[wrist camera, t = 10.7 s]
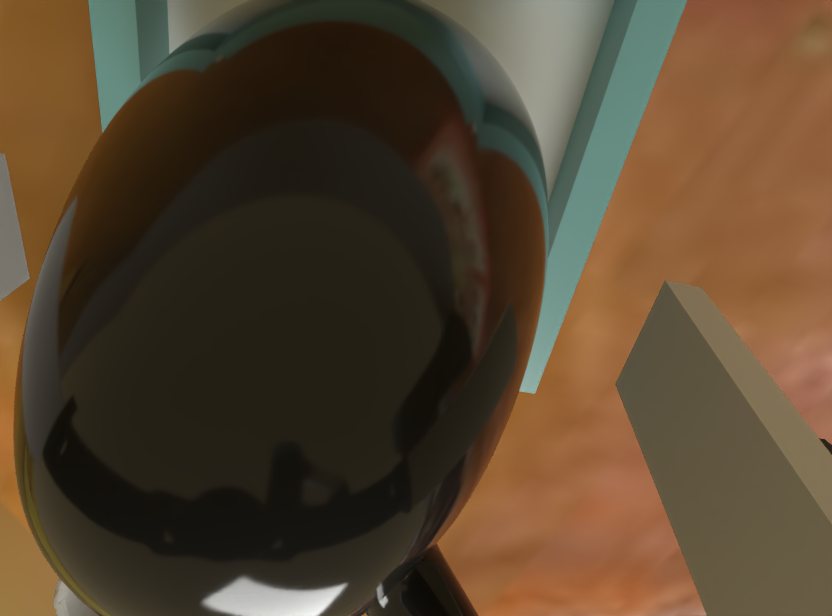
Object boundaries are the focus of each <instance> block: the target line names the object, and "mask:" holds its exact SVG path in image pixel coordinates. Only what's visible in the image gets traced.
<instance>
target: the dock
mask: <svg viewBox="0 0 832 616" xmlns="http://www.w3.org/2000/svg"><path fill="white" fill-rule="evenodd" d="M247 1H249V0H88V2H89V12H90V21H91V31H92V40H93V49H94V59H95V68H96V77H97V87H98V96H99V106H100V115H101V124H102V133H103V132H104V130H105V129H106V127H107V126H108V124H109V123H110V121H111V120H112V118H113V117H114V115H115V114H116V113H117V111H118V110H119V109H120V107H121V106H122V105H123V103H124V102H125V101H126V100H127V98H128V97H129V96H130V95H131V94H132V92H133V91H134V90H135V89H136V88H137V87H138V85H139V84H140V83H141V82H142V81H143V80H144V79H145V78H146V77H147V76H148V75H149V74H150V73H151V72H152V71H153V70H154V69H155V68H156V67H157V66H158V65H159V64H160V63H161V62H162V61H163V60H164V59H165V58H166V57H167V56H168V55H169V54H171V53H172V52H173V51H174V50H175V49H176V48H177V47H179V46H180V45H181V44H182V43H184V42H185V41H186V40H187V39H189V38H190V37H191V36H192V35H193V34H195V33H196V32H197V31H199V30H200V29H201V28H203V27H204V26H205V25H207V24H208V23H210V22H211V21H212V20H214V19H216V18H217V17H219V16H220V15H222V14H224V13H225V12H227V11H229V10H231V9H233V8H234V7H236V6H238V5H240V4H242V3H244V2H247ZM419 1H422V2H424V3H426V4H428V5H430V6H432V7H434V8H435V9H437V10H439V11H441V12H442V13H444V14H446V15H447V16H449V17H450V18H452V19H453V20H455V21H456V22H457V23H459V24H460V25H461V26H463V27H464V28H465V29H466V30H468V31H469V32H470V33H471V34H472V35H473V36H475V37H476V38H477V39H478V40H479V41H480V42H481V43H482V44H483V45H484V46H485V47H486V48H487V49H488V50H489V51H490V53H491V54H492V55H493V56H494V57H495V58H496V60H497V61H498V62H499V63H500V64H501V66H502V67H503V69H504V70H505V71H506V73H507V74H508V76H509V77H510V79H511V80H512V82H513V83H514V85H515V87H516V88H517V90H518V92H519V94H520V96H521V98H522V100H523V102H524V103H525V106H526V108H527V110H528V112H529V115H530V117H531V120H532V122H533V125H534V128H535V131H536V134H537V137H538V140H539V144H540V148H541V152H542V156H543V161H544V167H545V173H546V181H547V192H548V211H549V248H548V265H547V274H546V283H545V290H544V296H543V302H542V308H541V313H540V318H539V322H538V327H537V331H536V336H535V340H534V344H533V347H532V351H531V355H530V358H529V362H528V365H527V369H526V372H525V375H524V378H523V381H522V384H521V387H520V390H519V391H522V392H528V393H533V394H535V392H536V390H537V387H538V384H539V382H540V379H541V377H542V374H543V371H544V369H545V366H546V364H547V361H548V358H549V356H550V353H551V351H552V348H553V346H554V343H555V340H556V338H557V335H558V333H559V330H560V327H561V325H562V322H563V320H564V317H565V315H566V312H567V309H568V307H569V304H570V302H571V299H572V296H573V294H574V291H575V289H576V286H577V284H578V281H579V278H580V276H581V273H582V271H583V268H584V265H585V263H586V260H587V258H588V255H589V253H590V250H591V247H592V245H593V242H594V240H595V237H596V234H597V232H598V229H599V227H600V224H601V222H602V219H603V216H604V214H605V211H606V209H607V206H608V203H609V201H610V198H611V196H612V193H613V190H614V188H615V185H616V183H617V180H618V178H619V175H620V172H621V170H622V167H623V165H624V162H625V159H626V157H627V154H628V152H629V149H630V147H631V144H632V141H633V139H634V136H635V134H636V131H637V128H638V126H639V123H640V121H641V118H642V116H643V113H644V110H645V108H646V105H647V103H648V100H649V97H650V95H651V92H652V90H653V87H654V85H655V82H656V79H657V77H658V74H659V72H660V69H661V66H662V64H663V61H664V59H665V56H666V53H667V51H668V48H669V46H670V43H671V41H672V38H673V35H674V33H675V30H676V28H677V25H678V22H679V20H680V17H681V15H682V12H683V10H684V7H685V4H686V2H687V0H419Z"/></svg>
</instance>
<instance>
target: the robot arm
mask: <svg viewBox="0 0 832 616" xmlns="http://www.w3.org/2000/svg"><path fill="white" fill-rule="evenodd" d="M29 279H30V277H29V272H28V267H27V262H26V257H25V252H24V247H23V242H22V237H21V232H20V227H19V222H18V217H17V212H16V207H15V202H14V197H13V192H12V187H11V182H10V177H9V172H8V167H7V162H6V157H5V154H3V153H0V301H1V300H2V299H3V298H5V297H6V296H7V295H9V294H10V293H11V292H13V291H14V290H15V289H17V288H18V287H19V286H21V285H22V284H23V283H25V282H26V281H27V280H29ZM616 387H617V390H618V392H619V395H620V397H621V400H622V402H623V405H624V407H625V410H626V412H627V415H628V417H629V420H630V422H631V425H632V427H633V430H634V432H635V435H636V437H637V440H638V442H639V445H640V447H641V450H642V453H643V455H644V458H645V460H646V463H647V465H648V468H649V470H650V473H651V475H652V478H653V480H654V483H655V485H656V488H657V490H658V493H659V495H660V498H661V500H662V503H663V505H664V508H665V511H666V513H667V516H668V518H669V521H670V523H671V526H672V528H673V531H674V533H675V536H676V538H677V541H678V543H679V546H680V548H681V551H682V553H683V556H684V558H685V561H686V563H687V566H688V568H689V571H690V574H691V576H692V579H693V581H694V584H695V586H696V589H697V591H698V594H699V596H700V599H701V601H702V604H703V606H704V609H705V611H706V614H707V616H832V445H831V444H830V443H828V442H827V441H826V440H825V439H820V438H818V437H817V435H816V434H815V433H814V432H813V430H812V429H811V428H810V426H809V425H808V424H807V423H806V421H805V420H804V419H803V417H802V416H801V415H800V414H799V412H798V411H797V410H796V408H795V407H794V406H793V405H792V403H791V402H790V401H789V399H788V398H787V397H786V396H785V394H784V393H783V392H782V390H781V389H780V388H779V387H778V385H777V384H776V383H775V382H774V380H773V379H772V378H771V376H770V375H769V374H768V373H767V371H766V370H765V369H764V367H763V366H762V365H761V364H760V362H759V361H758V360H757V358H756V357H755V356H754V355H753V353H752V352H751V351H750V349H749V348H748V347H747V346H746V344H745V343H744V342H743V340H742V339H741V338H740V337H739V335H738V334H737V333H736V331H735V330H734V329H733V328H732V326H731V325H730V324H729V322H728V321H727V320H726V319H725V317H724V316H723V315H722V314H721V312H720V311H719V310H718V308H717V307H716V306H715V305H714V303H713V302H712V301H711V299H710V298H709V297H708V296H707V294H706V293H705V292H704V290H703V289H702V288H701V287H697V286H691V285H686V284H681V283H676V282H671V281H665V282H664V284H663V286H662V288H661V290H660V292H659V294H658V296H657V298H656V301H655V303H654V305H653V307H652V309H651V311H650V313H649V315H648V317H647V319H646V321H645V324H644V326H643V328H642V330H641V332H640V334H639V336H638V338H637V340H636V342H635V344H634V347H633V349H632V351H631V353H630V355H629V357H628V359H627V361H626V363H625V365H624V367H623V370H622V372H621V374H620V376H619V378H618V380H617V382H616Z"/></svg>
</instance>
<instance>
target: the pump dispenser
mask: <svg viewBox="0 0 832 616" xmlns="http://www.w3.org/2000/svg"><path fill="white" fill-rule="evenodd" d="M548 248H549V211H548V192H547V181H546V173H545V167H544V161H543V156H542V152H541V148H540V144H539V140H538V137H537V134H536V131H535V128H534V125H533V122H532V120H531V117H530V115H529V112H528V110H527V108H526V106H525V103H524V102H523V100H522V98H521V96H520V94H519V92H518V90H517V88H516V87H515V85H514V83H513V82H512V80H511V79H510V77H509V76H508V74H507V73H506V71H505V70H504V69H503V67H502V66H501V64H500V63H499V62H498V61H497V60H496V58H495V57H494V56H493V55H492V54H491V53H490V51H489V50H488V49H487V48H486V47H485V46H484V45H483V44H482V43H481V42H480V41H479V40H478V39H477V38H476V37H475V36H473V35H472V34H471V33H470V32H469V31H468V30H466V29H465V28H464V27H463V26H461V25H460V24H459V23H457V22H456V21H455V20H453V19H452V18H450V17H449V16H447V15H446V14H444V13H442V12H441V11H439V10H437V9H435V8H434V7H432V6H430V5H428V4H426V3H424V2H422V1H419V0H249V1H247V2H244V3H242V4H240V5H238V6H236V7H234V8H233V9H231V10H229V11H227V12H225V13H224V14H222V15H220V16H219V17H217V18H216V19H214V20H212V21H211V22H210V23H208V24H207V25H205V26H204V27H203V28H201V29H200V30H199V31H197V32H196V33H195V34H193V35H192V36H191V37H190V38H189V39H187V40H186V41H185V42H184V43H182V44H181V45H180V46H179V47H177V48H176V49H175V50H174V51H173V52H172V53H171V54H169V55H168V56H167V57H166V58H165V59H164V60H163V61H162V62H161V63H160V64H159V65H158V66H157V67H156V68H155V69H154V70H153V71H152V72H151V73H150V74H149V75H148V76H147V77H146V78H145V79H144V80H143V81H142V82H141V83H140V84H139V85H138V87H137V88H136V89H135V90H134V91H133V92H132V94H131V95H130V96H129V97H128V98H127V100H126V101H125V102H124V103H123V105H122V106H121V107H120V109H119V110H118V111H117V113H116V114H115V115H114V117H113V118H112V120H111V121H110V123H109V124H108V126H107V127H106V129H105V130H104V132H103V133H102V135H101V136H100V138H99V140H98V141H97V143H96V144H95V146H94V148H93V150H92V151H91V153H90V155H89V157H88V158H87V160H86V162H85V164H84V166H83V168H82V170H81V171H80V173H79V175H78V177H77V180H76V182H75V184H74V186H73V188H72V190H71V192H70V194H69V197H68V199H67V201H66V203H65V206H64V208H63V210H62V213H61V215H60V218H59V220H58V223H57V225H56V228H55V230H54V233H53V236H52V238H51V241H50V244H49V246H48V249H47V252H46V255H45V258H44V261H43V264H42V267H41V270H40V274H39V277H38V280H37V283H36V287H35V290H34V294H33V297H32V301H31V305H30V309H29V312H28V317H27V321H26V325H25V329H24V334H23V339H22V344H21V349H20V355H19V361H18V368H17V377H16V386H15V398H14V424H13V441H14V461H15V471H16V478H17V485H18V490H19V495H20V499H21V504H22V507H23V511H24V514H25V517H26V520H27V523H28V525H29V528H30V530H31V533H32V535H33V537H34V539H35V541H36V543H37V545H38V547H39V549H40V551H41V552H42V554H43V556H44V557H45V559H46V560H47V562H48V563H49V565H50V566H51V568H52V569H53V570H54V572H55V573H56V574H57V576H58V577H59V578H60V579H61V581H62V582H63V583H64V584H65V585H66V586H67V587H68V588H69V589H70V590H71V591H72V592H73V593H74V594H75V595H76V597H77V598H79V599H80V600H81V601H82V602H83V603H84V604H85V605H86V606H88V607H89V608H90V609H91V610H93V611H94V612H95V613H97V614H98V615H99V616H362V615H364V614H365V613H366V615H367V616H478V614H477V612H476V610H475V609H474V607H473V605H472V604H471V602H470V600H469V599H468V597H467V595H466V593H465V592H464V590H463V588H462V587H461V585H460V583H459V582H458V580H457V578H456V576H455V575H454V573H453V571H452V570H451V568H450V566H449V564H448V563H447V561H446V559H445V557H444V556H443V554H442V552H441V551H440V549H439V547H438V545H437V542H438V541H439V539H440V538H441V537H442V536H443V535H444V534H445V532H446V531H447V530H448V529H449V528H450V526H451V525H452V524H453V522H454V521H455V520H456V518H457V517H458V515H459V514H460V512H461V511H462V509H463V508H464V506H465V505H466V503H467V502H468V500H469V498H470V497H471V495H472V493H473V492H474V490H475V488H476V486H477V485H478V483H479V481H480V479H481V477H482V475H483V474H484V472H485V470H486V468H487V466H488V464H489V462H490V460H491V458H492V456H493V453H494V451H495V449H496V447H497V445H498V443H499V440H500V438H501V436H502V434H503V431H504V429H505V427H506V424H507V422H508V420H509V417H510V415H511V412H512V410H513V407H514V404H515V401H516V399H517V396H518V393H519V390H520V387H521V384H522V381H523V378H524V375H525V372H526V369H527V365H528V362H529V358H530V355H531V351H532V347H533V344H534V340H535V336H536V331H537V327H538V322H539V318H540V313H541V308H542V302H543V296H544V290H545V283H546V274H547V265H548Z"/></svg>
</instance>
